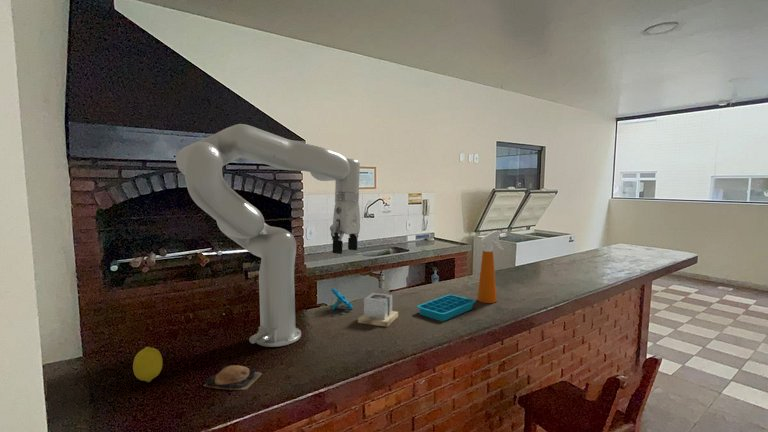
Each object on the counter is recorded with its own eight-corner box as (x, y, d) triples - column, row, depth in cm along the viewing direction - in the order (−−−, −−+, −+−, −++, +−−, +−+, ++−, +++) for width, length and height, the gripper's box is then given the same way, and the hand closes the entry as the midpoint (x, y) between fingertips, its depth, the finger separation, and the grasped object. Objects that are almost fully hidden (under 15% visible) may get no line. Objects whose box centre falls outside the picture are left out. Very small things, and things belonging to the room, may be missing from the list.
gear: (355, 308, 126) (333, 288, 126) (343, 322, 126) (321, 301, 125) (353, 303, 137) (334, 284, 137) (342, 315, 137) (322, 296, 136)
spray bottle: (508, 301, 140) (510, 231, 138) (485, 304, 136) (486, 232, 134) (496, 295, 146) (497, 229, 144) (473, 299, 142) (474, 230, 140)
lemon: (168, 375, 86) (166, 341, 85) (154, 388, 80) (152, 352, 79) (143, 375, 85) (141, 341, 85) (128, 388, 80) (125, 352, 79)
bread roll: (264, 375, 87) (264, 359, 87) (244, 394, 79) (243, 377, 78) (223, 370, 89) (222, 355, 88) (199, 389, 80) (198, 372, 80)
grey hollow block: (364, 317, 119) (364, 298, 118) (372, 310, 125) (372, 292, 125) (384, 319, 116) (384, 301, 116) (392, 312, 123) (392, 294, 122)
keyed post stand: (357, 322, 118) (357, 301, 118) (370, 312, 127) (370, 292, 127) (387, 326, 114) (387, 304, 114) (398, 316, 124) (398, 295, 123)
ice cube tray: (477, 308, 132) (477, 300, 132) (443, 323, 118) (443, 314, 117) (449, 301, 140) (449, 293, 140) (414, 315, 126) (414, 306, 126)
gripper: (343, 198, 109) (341, 256, 110) (369, 198, 125) (367, 249, 126) (321, 197, 112) (320, 253, 113) (349, 198, 128) (348, 247, 129)
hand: (345, 251), depth 119 cm, fingers open, 9 cm apart
